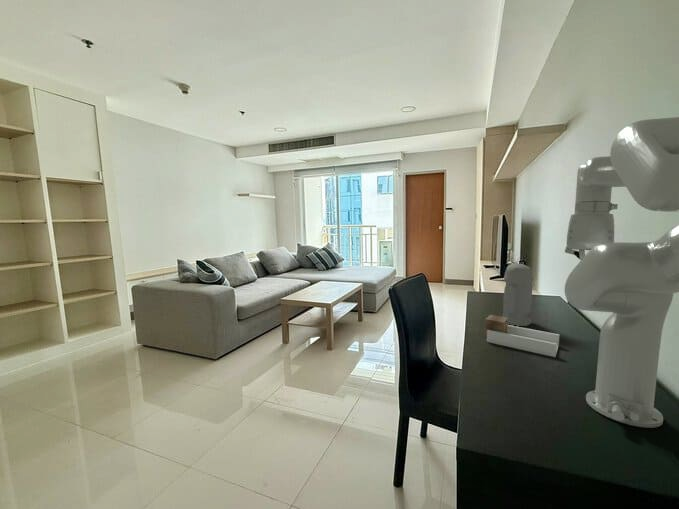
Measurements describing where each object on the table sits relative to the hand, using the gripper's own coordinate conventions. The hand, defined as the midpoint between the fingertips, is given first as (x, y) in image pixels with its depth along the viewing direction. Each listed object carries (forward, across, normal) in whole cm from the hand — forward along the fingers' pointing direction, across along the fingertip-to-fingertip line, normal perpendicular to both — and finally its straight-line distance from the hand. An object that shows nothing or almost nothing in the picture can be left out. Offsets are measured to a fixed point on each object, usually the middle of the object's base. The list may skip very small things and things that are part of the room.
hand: (586, 275), depth 86 cm
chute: (+27, +16, -10) cm, 33 cm away
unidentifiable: (+27, +22, -35) cm, 50 cm away
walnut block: (+26, +24, -10) cm, 37 cm away
